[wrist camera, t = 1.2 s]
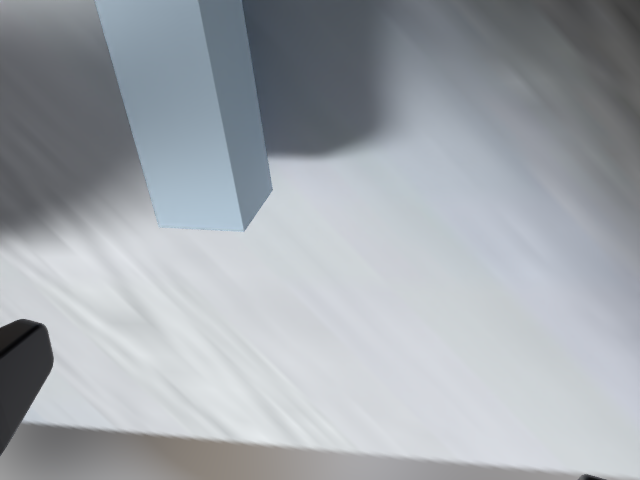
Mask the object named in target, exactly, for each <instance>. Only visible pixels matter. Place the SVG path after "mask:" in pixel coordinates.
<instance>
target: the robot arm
mask: <svg viewBox="0 0 640 480" xmlns="http://www.w3.org/2000/svg"><path fill="white" fill-rule="evenodd" d="M53 361H54V357H53V352H52V347H51V343H50V338H49V334H48V330H47V328H46V326H45V325H44V324H42V323H38V322H34V321H31V320H27V319H20V320H17V321H14V322H12V323H10V324H7V325H5V326H3V327H1V328H0V456H1V454H2V453H3V451H4V450H5V448H6V447H7V445H8V443H9V442H10V440H11V439H12V437H13V435H14V434H15V432H16V430H17V428H18V427H19V425H20V423H21V422H22V420H23V418H24V416H25V415H26V413H27V411H28V410H29V408H30V406H31V404H32V403H33V401H34V399H35V398H36V396H37V394H38V392H39V391H40V389H41V387H42V386H43V384H44V382H45V380H46V379H47V377H48V375H49V374H50V372H51V369H52V367H53ZM578 480H606V479H602V478H599V477H595V476H591V475H588V474H584V475H582V476H581V477H580V478H579V479H578Z"/></svg>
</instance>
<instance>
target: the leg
mask: <svg viewBox="0 0 640 480" xmlns="http://www.w3.org/2000/svg"><path fill="white" fill-rule="evenodd" d="M94 1H95V4H96V8H97V11H98V15H99V18H100V22H101V25H102V29H103V32H104V36H105V39H106V43H107V46H108V50H109V54H110V57H111V61H112V64H113V68H114V71H115V75H116V78H117V82H118V85H119V89H120V92H121V96H122V99H123V103H124V106H125V110H126V113H127V117H128V120H129V124H130V127H131V131H132V134H133V138H134V141H135V145H136V148H137V152H138V155H139V159H140V162H141V166H142V169H143V173H144V176H145V180H146V183H147V187H148V190H149V194H150V198H151V201H152V205H153V208H154V212H155V215H156V219H157V222H158V226H159V227H162V228H182V229H201V230H220V231H239V232H244V231H245V230H246V228H247V227H248V225H249V224H250V222H251V221H252V219H253V218H254V217H255V215H256V214H257V212H258V211H259V209H260V208H261V206H262V205H263V203H264V202H265V201H266V199H267V198H268V196H269V195H270V193H271V192H272V190H273V189H272V183H271V177H270V170H269V164H268V158H267V152H266V146H265V140H264V134H263V127H262V121H261V115H260V109H259V103H258V97H257V90H256V84H255V78H254V72H253V66H252V60H251V54H250V47H249V41H248V35H247V29H246V23H245V17H244V10H243V4H242V0H94Z"/></svg>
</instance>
